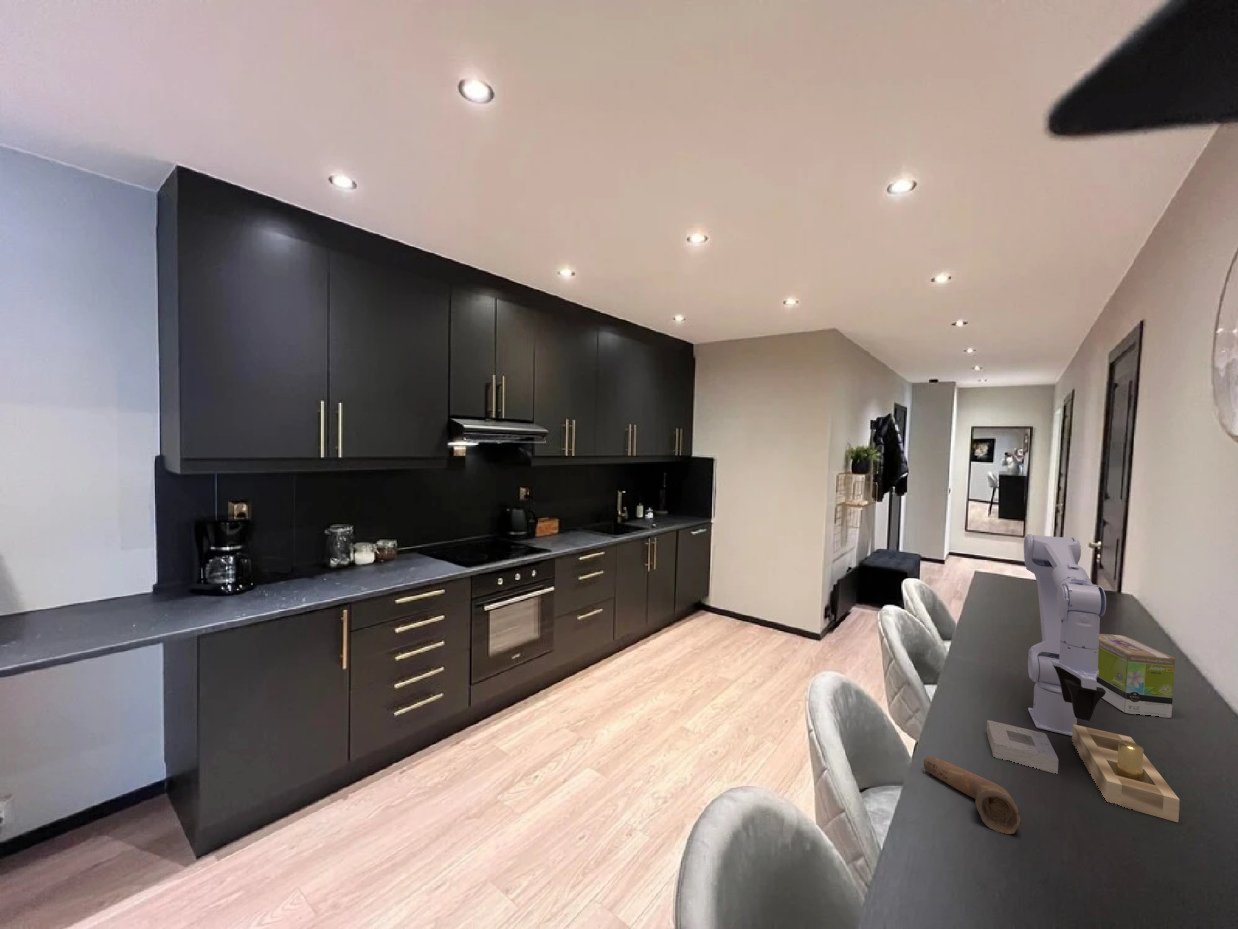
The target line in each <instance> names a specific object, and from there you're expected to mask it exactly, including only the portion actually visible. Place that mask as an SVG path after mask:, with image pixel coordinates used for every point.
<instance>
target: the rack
mask: <svg viewBox="0 0 1238 929" xmlns="http://www.w3.org/2000/svg"><path fill="white" fill-rule="evenodd" d="M1120 740H1124V741H1129V742H1132V743H1135V744H1137V743H1136V742H1135V741H1134V739H1133V738H1132V737H1131V736H1129V735H1128V736H1127V735H1124V734H1119V733H1114V732H1109V731H1106V730H1100V729H1098V728H1097V729H1095V728H1092V727H1087V726H1084V725H1078V724H1077V725H1075V724H1073V731H1072V736H1071V743H1072V742H1073V743H1072V745H1073V747H1074V746H1075V747H1074V748H1075V750H1076V749H1077V750H1076V752H1077V751H1078V752H1077V754H1078V753H1079V754H1078V756H1079V757H1080V759H1081V761H1082V760H1083V761H1082V763H1083V762H1084V763H1083V764H1084V766H1085V768H1086V769H1087V771H1088V773H1089V775H1090V774H1091V775H1090V776H1091V778H1092V780H1093V779H1094V780H1093V782H1094V781H1095V782H1094V784H1095V783H1096V784H1095V786H1096V787H1097V786H1098V787H1097V789H1098V788H1099V789H1098V790H1100V791H1101V793H1102V794H1101V793H1100V794H1101V796H1102V795H1103V796H1102V798H1103V797H1104V798H1105V800H1106V801H1107V802H1110V803H1115V804H1118V805H1120V806H1122V807H1121V808H1124V807H1125V808H1124V809H1127V808H1128V810H1131V809H1133V810H1132V811H1135V812H1139V813H1141V814H1142V813H1143V814H1146V815H1150V816H1153V817H1157V818H1161V819H1164V820H1167V821H1171V822H1174V823H1179V819H1180V818H1179V817H1180V814H1179V813H1180V801H1181V800H1180V798H1179V797H1178V796H1177V795H1176V793H1175V792H1174V791H1173V789H1172V788H1171V787H1170V785H1169V784H1168V783H1167V782H1166V780H1165V779H1164V778H1163V776H1162V775H1161V774H1160V773H1159V771H1158V770H1157V769H1156V767H1155V766H1154V765H1153V764H1152V762H1151V761H1150V760H1149V758H1148V757H1147V756H1146V754H1144V752H1143V772H1142V782H1140V781H1136V780H1132V779H1128V778H1124V777H1121V776H1117V762H1118V741H1120ZM1100 791H1099V792H1100ZM1104 798H1103V799H1104ZM1105 800H1104V801H1105ZM1106 801H1105V802H1106ZM1120 806H1119V807H1120Z"/></svg>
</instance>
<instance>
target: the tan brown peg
mask: <svg viewBox="0 0 1238 929" xmlns="http://www.w3.org/2000/svg"><path fill="white" fill-rule="evenodd" d="M1135 743H1136V742H1135ZM1135 743H1132V742H1129V741H1124V740H1120V741H1118V762H1117V776H1121V777H1124V778H1128V779H1132V780H1136V781H1140V782H1142V772H1143V753H1144V748H1143V746H1141V745H1139V744H1138V743H1136V744H1135Z"/></svg>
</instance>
